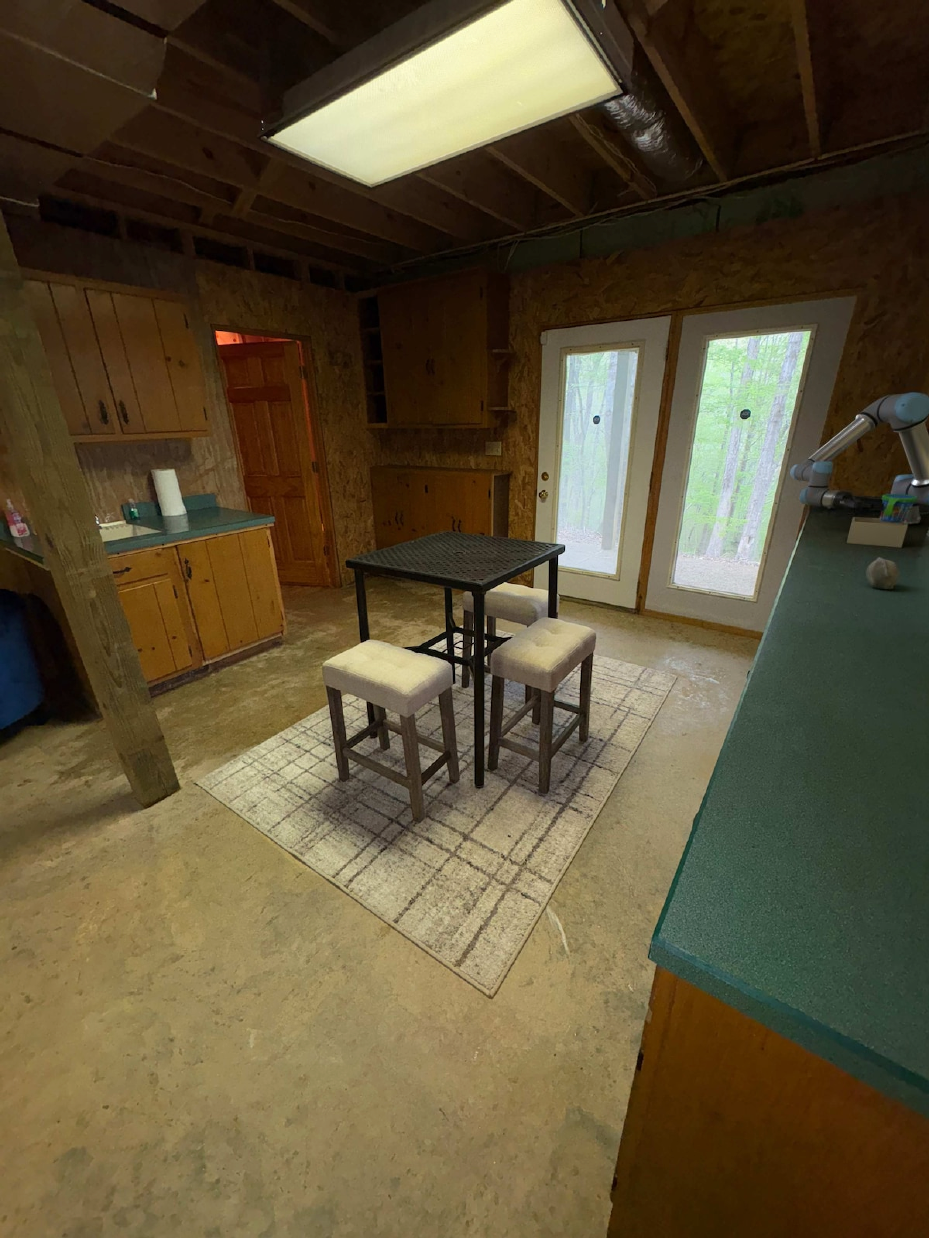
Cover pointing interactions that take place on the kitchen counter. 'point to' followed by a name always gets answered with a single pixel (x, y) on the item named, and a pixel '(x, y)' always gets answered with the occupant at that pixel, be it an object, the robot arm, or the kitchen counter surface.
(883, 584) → the garlic bulb
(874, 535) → the tan rectangular box
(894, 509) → the snack cup
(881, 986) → the kitchen counter surface
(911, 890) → the kitchen counter surface
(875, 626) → the kitchen counter surface
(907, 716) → the kitchen counter surface
